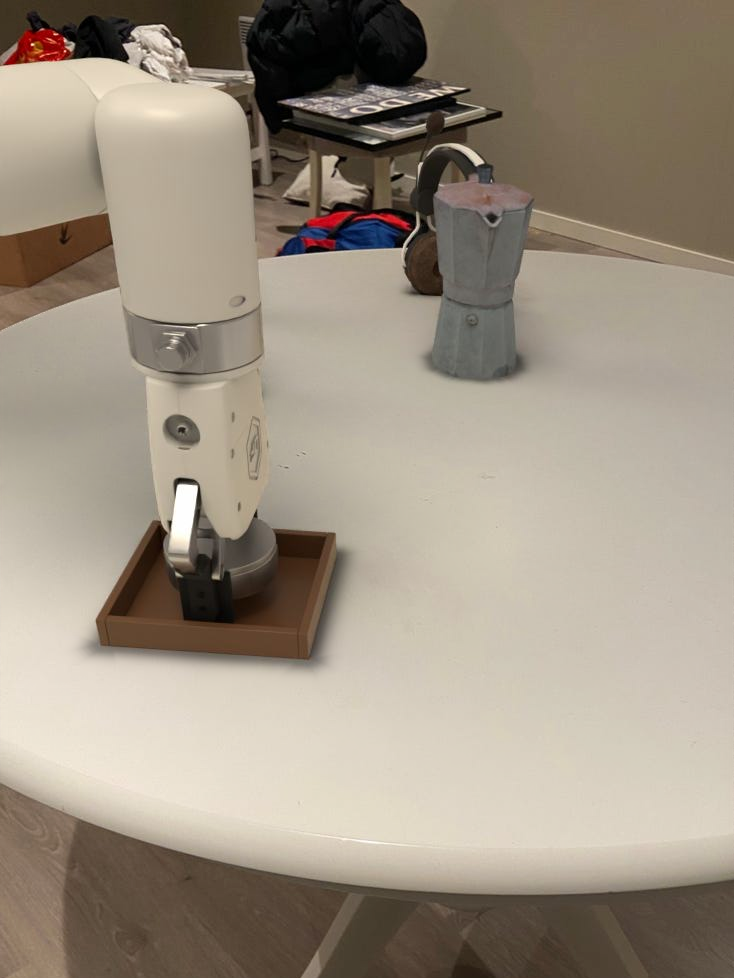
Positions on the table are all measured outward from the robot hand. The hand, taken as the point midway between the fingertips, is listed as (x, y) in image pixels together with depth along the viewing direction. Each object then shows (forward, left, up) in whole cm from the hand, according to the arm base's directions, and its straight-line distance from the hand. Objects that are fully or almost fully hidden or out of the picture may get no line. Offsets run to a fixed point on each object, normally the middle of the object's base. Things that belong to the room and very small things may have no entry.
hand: (224, 587), depth 67 cm
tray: (0, 0, -1) cm, 1 cm away
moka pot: (+15, +45, -2) cm, 47 cm away
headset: (+12, +63, -2) cm, 64 cm away
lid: (0, 0, +3) cm, 3 cm away
